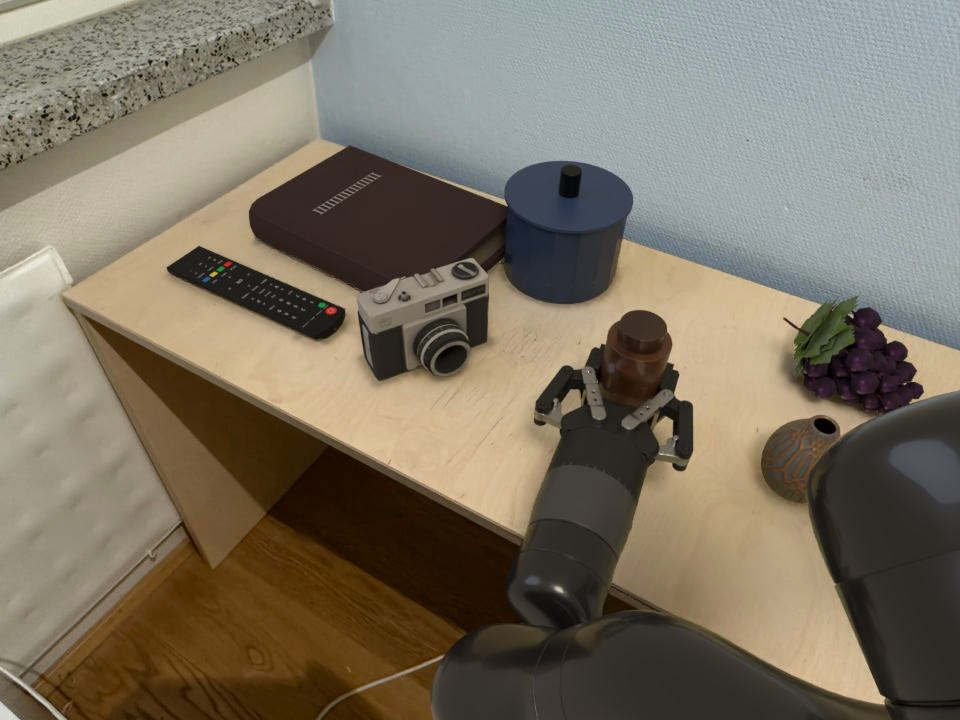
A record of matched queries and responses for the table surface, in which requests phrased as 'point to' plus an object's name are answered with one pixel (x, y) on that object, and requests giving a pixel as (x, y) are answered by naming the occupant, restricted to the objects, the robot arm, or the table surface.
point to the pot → (560, 261)
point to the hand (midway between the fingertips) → (635, 360)
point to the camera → (425, 320)
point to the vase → (796, 454)
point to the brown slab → (378, 220)
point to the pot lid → (568, 197)
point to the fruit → (854, 359)
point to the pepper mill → (634, 358)
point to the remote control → (259, 293)
